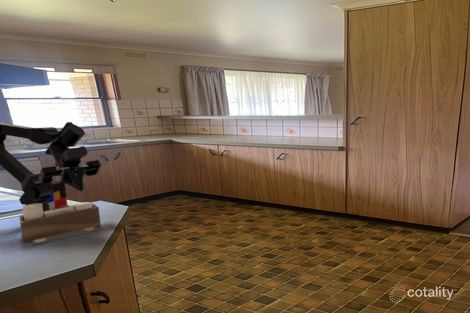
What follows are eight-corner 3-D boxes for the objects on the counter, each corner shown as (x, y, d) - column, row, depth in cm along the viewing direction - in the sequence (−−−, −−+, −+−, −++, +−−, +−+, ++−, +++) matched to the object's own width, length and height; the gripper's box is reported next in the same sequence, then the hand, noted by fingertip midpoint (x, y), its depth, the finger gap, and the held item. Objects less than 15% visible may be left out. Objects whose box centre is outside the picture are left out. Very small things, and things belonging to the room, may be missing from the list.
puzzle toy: (48, 211, 123) (45, 186, 121) (27, 211, 125) (23, 186, 123) (67, 204, 132) (64, 181, 131) (47, 204, 134) (44, 181, 133)
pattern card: (31, 241, 91) (31, 239, 91) (94, 227, 101) (94, 225, 101) (33, 245, 87) (32, 243, 87) (97, 230, 97) (97, 228, 97)
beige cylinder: (76, 222, 104) (73, 204, 103) (92, 218, 107) (90, 201, 106) (79, 226, 100) (76, 207, 99) (95, 222, 103) (93, 204, 102)
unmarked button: (24, 225, 96) (22, 205, 95) (43, 221, 99) (41, 202, 98) (25, 229, 92) (22, 208, 91) (45, 225, 95) (42, 205, 94)
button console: (21, 234, 97) (19, 216, 96) (94, 219, 109) (92, 202, 109) (23, 243, 90) (20, 223, 89) (100, 225, 102) (98, 207, 101)
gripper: (37, 141, 96) (57, 180, 91) (95, 137, 111) (115, 169, 105) (31, 165, 102) (49, 202, 97) (87, 158, 117) (105, 190, 111)
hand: (81, 190), depth 102 cm, fingers closed
